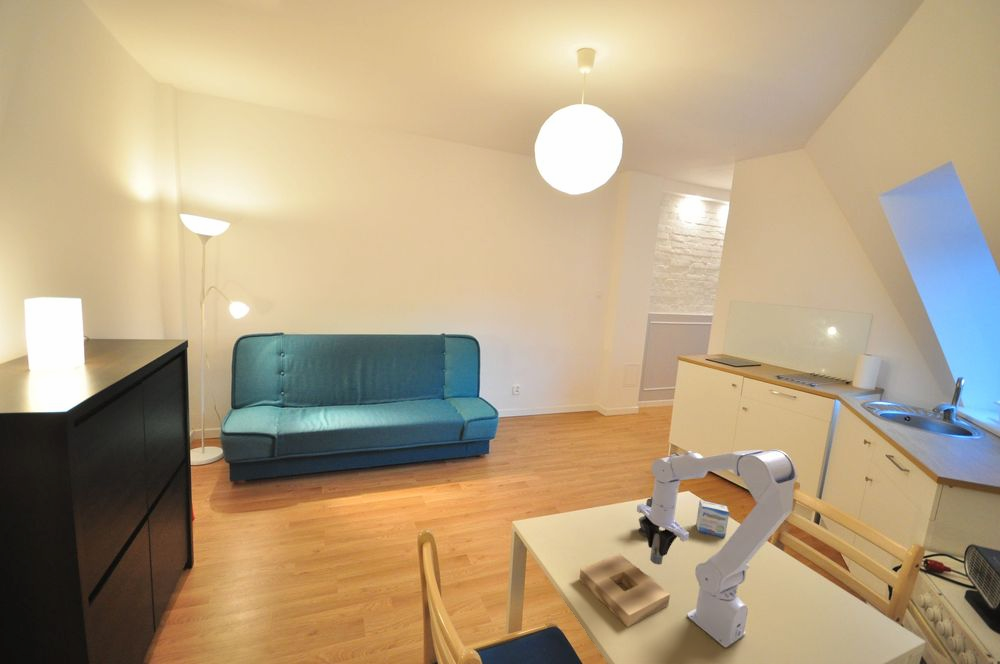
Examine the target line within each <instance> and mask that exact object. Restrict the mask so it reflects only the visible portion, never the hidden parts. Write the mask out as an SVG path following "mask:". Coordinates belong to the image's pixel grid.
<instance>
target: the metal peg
mask: <svg viewBox="0 0 1000 664" xmlns="http://www.w3.org/2000/svg"><path fill="white" fill-rule="evenodd" d="M660 531H662V529H660V528H659V529H655V530H654V534H653V541H652V548H650V549H651V550H650V557H649V560H650V562H651V563H653V564H655V565H658V566H659V565H662V564H663V558H664V556H661V555H660V553H659V551H660V535H659V532H660Z"/></svg>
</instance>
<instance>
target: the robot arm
mask: <svg viewBox="0 0 1000 664" xmlns="http://www.w3.org/2000/svg"><path fill="white" fill-rule="evenodd" d="M728 470H729V471H730V470H731V471H732V472H733V474H734V475H735V477H740V478H741V480H742V482H743V484H744V485H745V487H746V488H747V490H748V491H749V493H750V494H751V496H752V498H753V499H754V501H755V502H756V504H755V506H754V507H753V508H752V509H751V511H750V512H749V513H748V514H747V516H746V517H745V518H744V519H743V521H742V522H741V523H740V525H739V526H737V529H735V531H734V532H733V533H732V535H731V536H730V537H729V538H728V539H727V541H726V543H725V544H724V545H723V546H722V548H721V549H720V550H718V551H717V552H715V554H712V555H711V556H710V557H709V558H708V559H707V560H706V561H704V562H700V563H697V565H696V566H695V572H694V574H695V578H696V582H697V583H698V586H699V589H698V596H697V600H696V601H697V602H696V608H694V609H692V610H691V611H689V612H687V614H686V617H687V618H689V619H690V620H691V621H692V622H693V623H695V625H697V626H698V627H700V628H701V630H703V631H704V632H705V633H706V634H708V635H709V636H710V637H711V638H713V639H714V640H715V641H716V642H717V643H719V644H720V645H721V646H722V647H724V648H728V647H729V646H731V645H732V644H734V643H736V641H738V640H739V639H741V638H742V637H744V636H745V635H746V631H745V629H746V628H745V627H746V623H747V616H748V606H747V605H746V603H744V602H743V601H742V600H741V599H740V598H739V596H738V595H737V590H738V587H739V585H741V584H743V583H744V582H745V580H746V575H747V571H748V569H749V568H750V564H749V562H750V561H751V560H752V559H753V558H754V556H755V555H756V554H757V553H758V551H760V549H761V548H762V547H763V546H764V545H765V544H766V543H767V541H768V540H769V539H770V538H771V536H772V535H773V534H774V533H775V532H776V531H777V530H778V528H779V527H780V526H781V525H782V523H784V521H786V519H787V518H788V516H789V515H790V514H791V513H792V512H793V506H794V505H793V504H794V490H795V489H794V488H795V483H796V481H797V478H798V477H799V475H798V472H797V469H796V467H795V464H794V462H793V460H792V459H791V457H790V455H788V454H787V453H786V452H784V451H782V450H779V449H773V448H771V449H769V450H766V451H765V449H752V450H751V449H749V450H738V451H733V452H726V453H722V454H716V455H712V456H711V455H710V456H705V457H704V456H703V455H702V454H700V453H697V452H693V450H689V451H685V452H684V454H680V455H677V454H676V453H675V454H674V453H673V454H669V456H666V457H662V458H661V457H660V458H657V459H655V460H654V461H653V462H652V463H651V472H652V475H653V477H654V478H655V479H654V485H653V487H654V488H653V491H652V492H653V493H652V497H653V499H652V506H651V507H649V506H646V504H644V503H639V504H637V506H636V512H637V513H639V514H643V516H644V515H646V518H645V519H644V520H643V521H642V524H643V525H644V528H645V531H646V534H647V537H646V539H647V545H648V548H650V549H651V548H652V541H653V534H654V530H655V529H659V530H660V528H662V529H663V530H662V529H661V530H662V531H660V532H659V535H660V551H659V553H660V555H661V556H663V557H665V556H666V555H668V552H669V549H670V547H671V546H672V544H673V542H674V541H675V540H676V539H677V538H678V539H679V540H680V541H681V542H682V543H683V542H686V541H688V540H689V537H690V532H688V531H687V530H685V529H684V528H683V527H682V525H681V524H680V523H678V522H677V520H675V515H676V508H677V507H676V506H677V500H678V492H679V487H680V485H681V481H684V480H692V479H694V480H695V479H702V478H705V477H706V475H707V474H708V472H718V471H728Z"/></svg>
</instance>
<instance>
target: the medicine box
mask: <svg viewBox="0 0 1000 664" xmlns="http://www.w3.org/2000/svg"><path fill="white" fill-rule="evenodd" d="M729 518H730V511H729V508H728V506H727V505H724V504H721V503H720V504H719V503H715V502H710V501H706V500H699V502H698V508H697V514H696V522H695V526H696V528H697V532H699V533H703V534H708V535H712V536H715V537H716V536H717V537H721V538H726V535H727V530H728V529H727V528H728V523H729Z"/></svg>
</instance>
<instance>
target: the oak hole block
mask: <svg viewBox="0 0 1000 664" xmlns="http://www.w3.org/2000/svg"><path fill="white" fill-rule="evenodd" d="M578 580H579V581H580V582H581V583H582V584H583V585H584V586H585V587H586V588H587V589H588V590H589V591H591V593H592V594H594V596H595V597H596V598H598V600H600V602H601V603H603V605H604V606H605V607H607V608H608V610H609V611H611V613H613V614H614V615H615V616H616V618H617V619H619V620H620V622H621V623H623V624H624V625H625V626H626V627H627V628H629V627H631V626H633V625H635V624H636V623H638V622H640V621H642V620H645V618H648V617H650V616H652V615H654V614H655V613H657V612H659V611H661V610H662V609H664V608H667V607H668V606H669V604H670V596H671V595H670V593H669V592H668V591H667V590H666V589H664V588H663V587H662V586H661V585H659V584H658V582H656V581H654V580H653V579H652V578H651V577H649V576H648V575H647V574H646V573H645V572H644V571H642V570H641V569H640V568H639V567H637V566H636V565H635V564H633V563H632V562H631V561H630V560H629V559H628V558H626V557H625V556H624V555H622V554H621V553H617V554H613V555H612V556H609V557H607V558H604V559H602V560H599V561H596V562H594V563H592V564H589V565H587V566H584V567H581V568H580V571H579V579H578ZM620 583H622V584H623V585H625V586H626V587H627V588H628V589H627V590H624V589H622V588H621V587H620V586H619V585H618V584H620Z"/></svg>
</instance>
